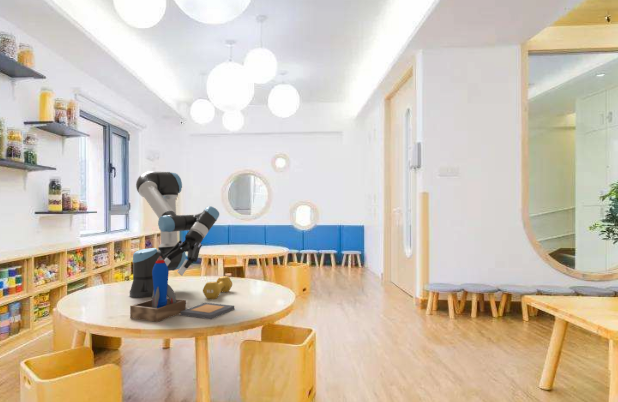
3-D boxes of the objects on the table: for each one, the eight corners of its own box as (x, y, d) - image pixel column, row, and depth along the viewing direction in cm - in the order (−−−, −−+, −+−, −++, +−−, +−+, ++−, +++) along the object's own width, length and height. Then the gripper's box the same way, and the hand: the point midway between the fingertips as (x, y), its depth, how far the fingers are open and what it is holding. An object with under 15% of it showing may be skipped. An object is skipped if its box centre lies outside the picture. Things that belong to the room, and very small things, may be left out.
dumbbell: (218, 299, 190) (218, 283, 190) (201, 299, 192) (201, 282, 192) (233, 291, 209) (233, 275, 209) (218, 290, 210) (217, 275, 210)
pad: (180, 315, 164) (180, 311, 164) (205, 305, 179) (205, 302, 179) (210, 319, 157) (210, 315, 157) (234, 309, 172) (234, 305, 172)
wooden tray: (130, 317, 161) (130, 305, 161) (160, 308, 176) (159, 297, 176) (157, 321, 155) (157, 309, 155) (185, 311, 169) (185, 300, 169)
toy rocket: (155, 319, 158) (154, 257, 158) (140, 316, 163) (139, 256, 163) (176, 313, 167) (176, 254, 167) (162, 310, 172) (161, 253, 172)
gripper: (219, 240, 176) (193, 280, 163) (183, 239, 190) (157, 275, 177) (210, 229, 171) (183, 269, 159) (174, 228, 185) (146, 265, 173)
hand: (169, 272), depth 168 cm, fingers open, 13 cm apart
